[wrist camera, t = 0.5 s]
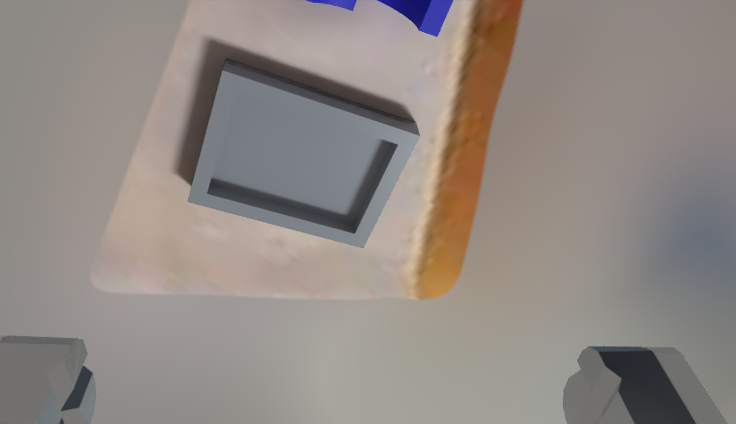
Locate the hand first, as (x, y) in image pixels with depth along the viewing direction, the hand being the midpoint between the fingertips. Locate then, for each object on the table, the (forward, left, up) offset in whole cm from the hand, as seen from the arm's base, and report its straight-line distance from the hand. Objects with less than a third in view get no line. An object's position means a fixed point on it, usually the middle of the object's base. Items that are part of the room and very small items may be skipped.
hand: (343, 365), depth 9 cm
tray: (+20, +5, -42) cm, 47 cm away
